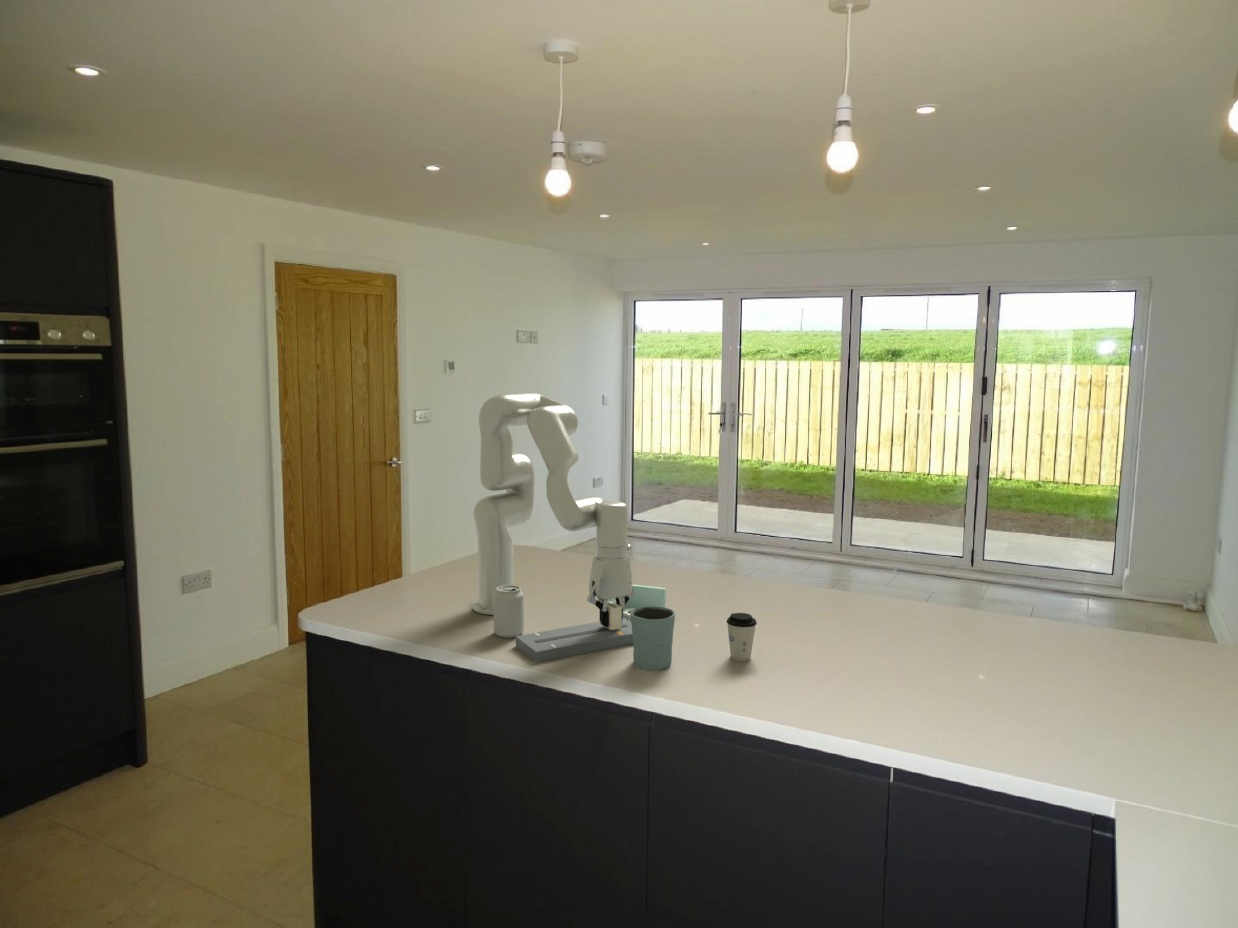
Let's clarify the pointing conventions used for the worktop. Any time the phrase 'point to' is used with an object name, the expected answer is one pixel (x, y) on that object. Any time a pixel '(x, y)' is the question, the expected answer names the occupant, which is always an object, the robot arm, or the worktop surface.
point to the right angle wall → (644, 599)
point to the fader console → (573, 640)
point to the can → (508, 611)
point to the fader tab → (614, 616)
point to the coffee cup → (741, 635)
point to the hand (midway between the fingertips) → (611, 623)
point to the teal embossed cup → (652, 637)
